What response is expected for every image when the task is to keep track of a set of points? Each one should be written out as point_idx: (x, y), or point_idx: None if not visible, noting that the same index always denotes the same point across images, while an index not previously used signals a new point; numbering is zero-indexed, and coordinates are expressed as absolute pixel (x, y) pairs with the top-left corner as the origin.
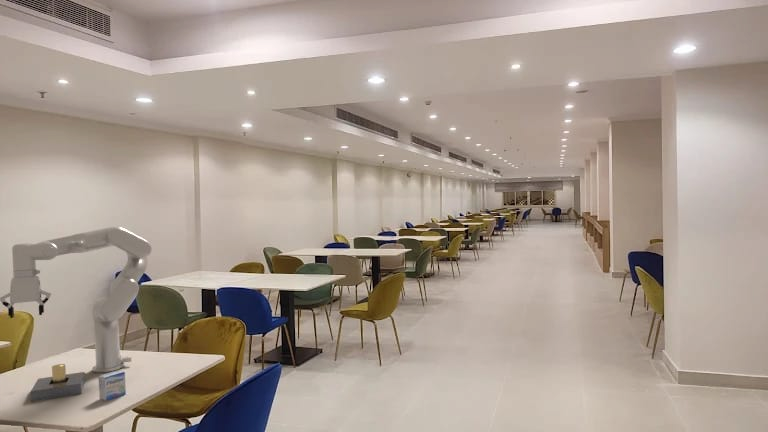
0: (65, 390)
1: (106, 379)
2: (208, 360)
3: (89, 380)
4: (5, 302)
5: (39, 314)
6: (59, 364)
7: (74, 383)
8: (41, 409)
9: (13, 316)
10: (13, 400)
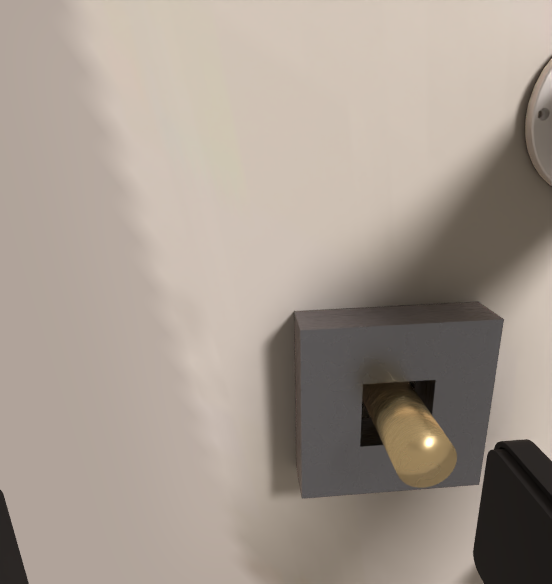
0: None
1: None
2: None
3: (496, 294)
4: None
5: (483, 568)
6: (429, 440)
7: (456, 475)
8: (341, 548)
9: (6, 533)
10: (225, 420)
